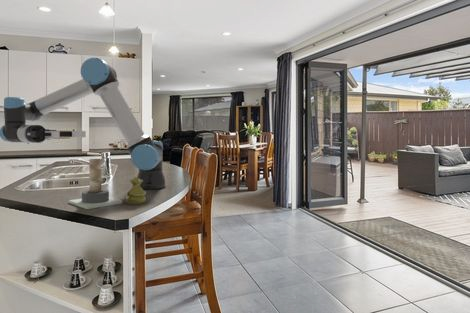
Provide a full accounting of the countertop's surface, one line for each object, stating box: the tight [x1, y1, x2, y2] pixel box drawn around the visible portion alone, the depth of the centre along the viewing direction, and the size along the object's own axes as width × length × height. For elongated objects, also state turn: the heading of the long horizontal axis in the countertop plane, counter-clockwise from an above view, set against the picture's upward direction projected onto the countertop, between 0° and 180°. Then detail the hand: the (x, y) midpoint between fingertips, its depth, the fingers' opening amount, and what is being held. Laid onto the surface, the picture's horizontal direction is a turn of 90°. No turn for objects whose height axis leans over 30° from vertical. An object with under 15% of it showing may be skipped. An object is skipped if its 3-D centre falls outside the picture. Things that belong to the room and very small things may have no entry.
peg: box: [89, 158, 103, 193], centre depth 122 cm, size 4×4×16 cm
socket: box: [68, 188, 123, 210], centre depth 123 cm, size 14×14×4 cm
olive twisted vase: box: [125, 176, 147, 205], centre depth 126 cm, size 7×7×10 cm
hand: (72, 134), depth 130 cm, fingers open, 13 cm apart
